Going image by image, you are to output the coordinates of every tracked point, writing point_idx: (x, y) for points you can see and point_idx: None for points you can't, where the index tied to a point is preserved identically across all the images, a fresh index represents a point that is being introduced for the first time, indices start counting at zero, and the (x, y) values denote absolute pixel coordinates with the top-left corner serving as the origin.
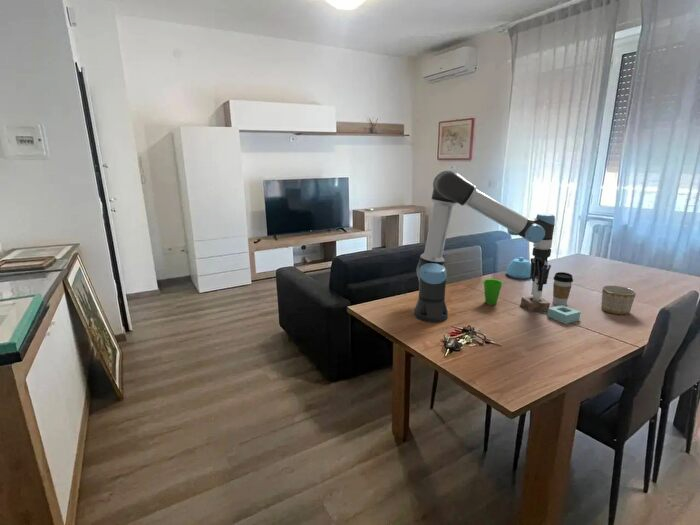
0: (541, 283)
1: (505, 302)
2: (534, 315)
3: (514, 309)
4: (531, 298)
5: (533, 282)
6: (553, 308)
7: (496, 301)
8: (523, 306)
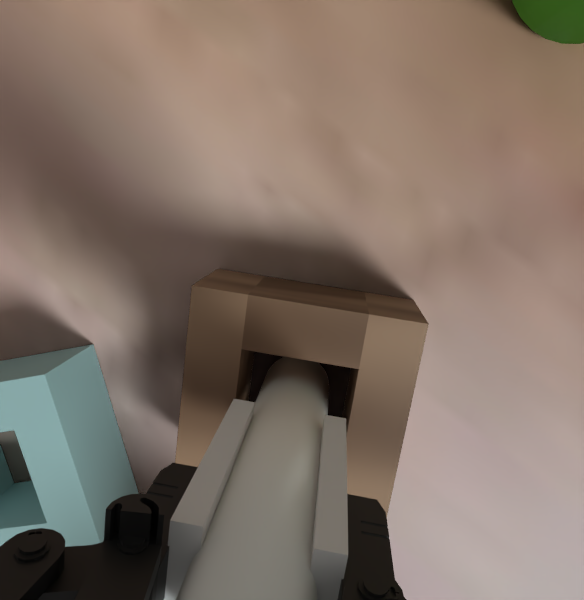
0: (7, 543)
1: (520, 169)
2: (126, 245)
3: (305, 142)
4: (351, 405)
5: (319, 540)
6: (27, 415)
7: (521, 3)
8: (354, 290)
